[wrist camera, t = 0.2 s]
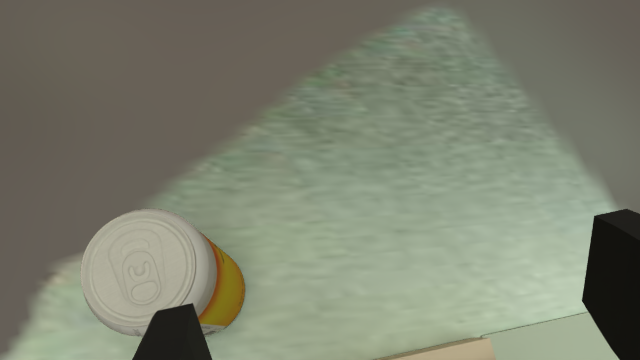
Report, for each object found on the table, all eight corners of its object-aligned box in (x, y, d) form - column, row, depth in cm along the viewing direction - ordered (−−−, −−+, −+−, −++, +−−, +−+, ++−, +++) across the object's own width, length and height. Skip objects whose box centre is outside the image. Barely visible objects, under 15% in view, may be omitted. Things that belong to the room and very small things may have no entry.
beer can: (233, 238, 41) (185, 186, 27) (256, 319, 40) (219, 310, 25) (152, 264, 41) (59, 226, 26) (173, 347, 39) (86, 354, 25)
